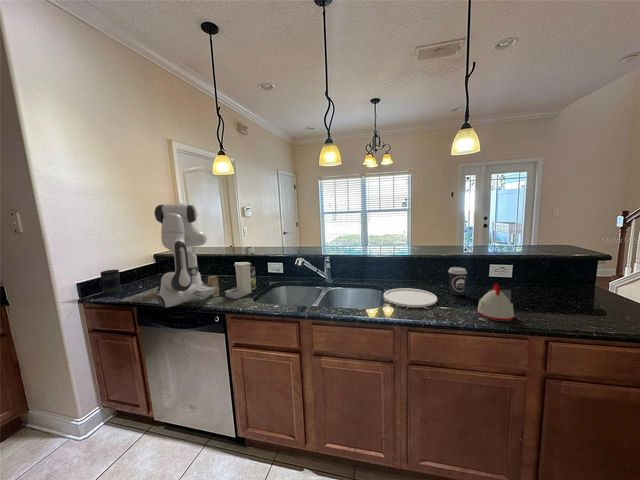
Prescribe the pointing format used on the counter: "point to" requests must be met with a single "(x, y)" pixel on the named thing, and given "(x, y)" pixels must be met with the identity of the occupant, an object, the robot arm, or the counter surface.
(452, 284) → the coffee cup
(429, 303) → the plate
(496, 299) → the kitchen timer
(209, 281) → the tan rectangular block
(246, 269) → the boot
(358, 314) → the counter surface
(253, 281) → the coffee can
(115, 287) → the storage jar
